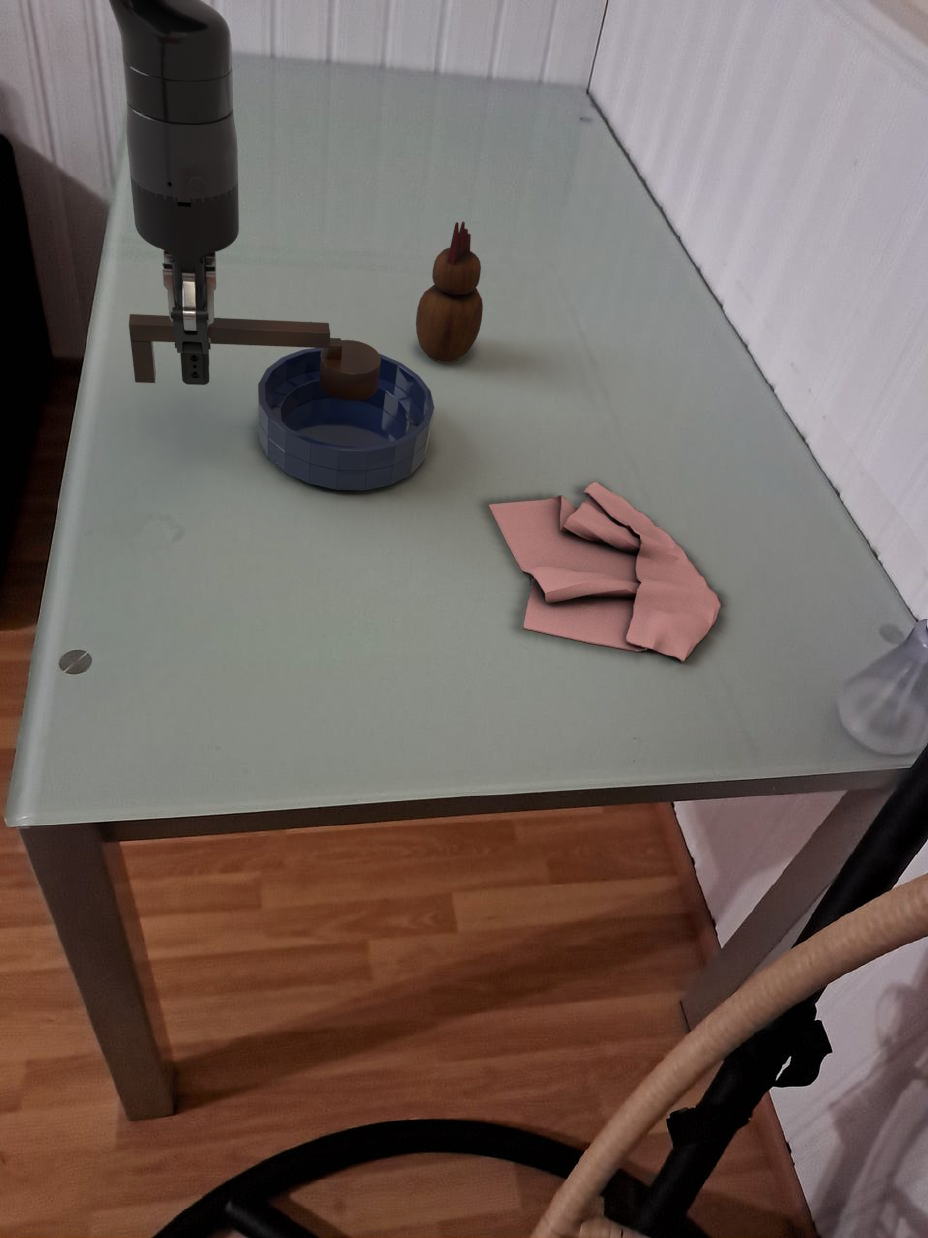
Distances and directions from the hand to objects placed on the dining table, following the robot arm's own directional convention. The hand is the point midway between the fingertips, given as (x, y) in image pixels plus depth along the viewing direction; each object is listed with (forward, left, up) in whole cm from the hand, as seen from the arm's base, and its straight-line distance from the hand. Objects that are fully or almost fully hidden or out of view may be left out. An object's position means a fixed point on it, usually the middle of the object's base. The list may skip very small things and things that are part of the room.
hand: (196, 374), depth 81 cm
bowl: (+12, -4, -7) cm, 15 cm away
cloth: (+27, -26, -7) cm, 38 cm away
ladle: (+5, -1, -1) cm, 5 cm away
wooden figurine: (+28, +7, -7) cm, 30 cm away
